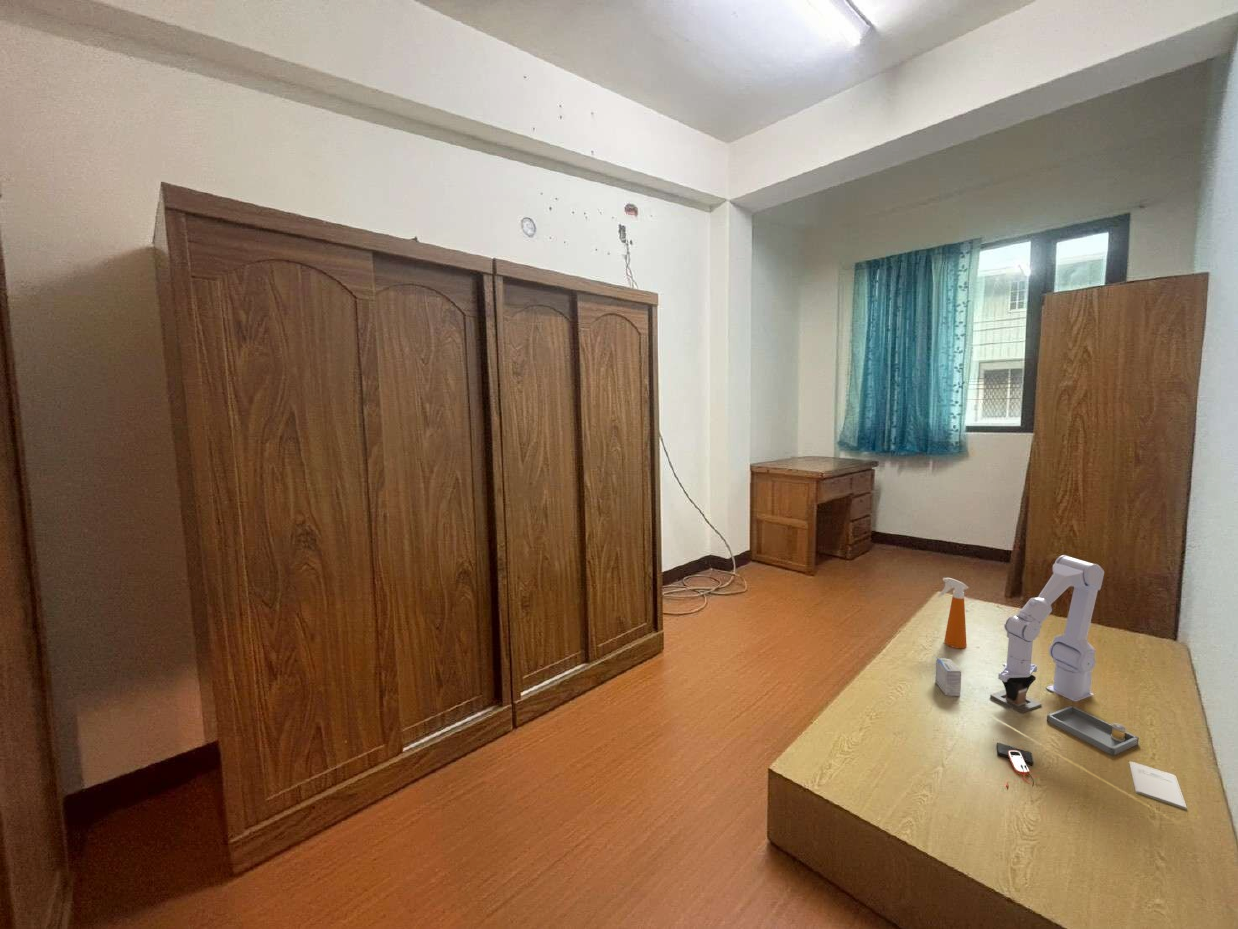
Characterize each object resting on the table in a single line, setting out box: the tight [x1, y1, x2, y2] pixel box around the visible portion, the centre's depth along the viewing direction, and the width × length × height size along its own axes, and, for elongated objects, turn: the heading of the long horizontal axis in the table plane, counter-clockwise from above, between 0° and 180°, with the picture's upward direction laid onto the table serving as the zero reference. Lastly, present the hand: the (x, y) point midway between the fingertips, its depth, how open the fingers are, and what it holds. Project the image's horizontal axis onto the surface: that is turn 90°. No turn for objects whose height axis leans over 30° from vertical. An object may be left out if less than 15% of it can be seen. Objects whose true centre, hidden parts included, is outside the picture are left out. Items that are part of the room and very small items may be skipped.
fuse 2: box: [1111, 722, 1127, 743], centre depth 137 cm, size 3×3×4 cm
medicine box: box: [934, 657, 962, 697], centre depth 162 cm, size 8×4×9 cm, turn 168°
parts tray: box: [1046, 705, 1139, 757], centre depth 140 cm, size 11×15×2 cm
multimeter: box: [996, 742, 1035, 789], centre depth 127 cm, size 18×12×3 cm, turn 141°
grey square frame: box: [989, 689, 1043, 714], centre depth 154 cm, size 9×9×1 cm
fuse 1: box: [1004, 685, 1028, 706], centre depth 154 cm, size 4×4×6 cm
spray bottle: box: [936, 577, 970, 649], centre depth 189 cm, size 7×11×26 cm, turn 82°
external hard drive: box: [1128, 761, 1188, 811], centre depth 121 cm, size 2×8×12 cm
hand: (1015, 697), depth 154 cm, fingers closed on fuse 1, 4 cm apart
